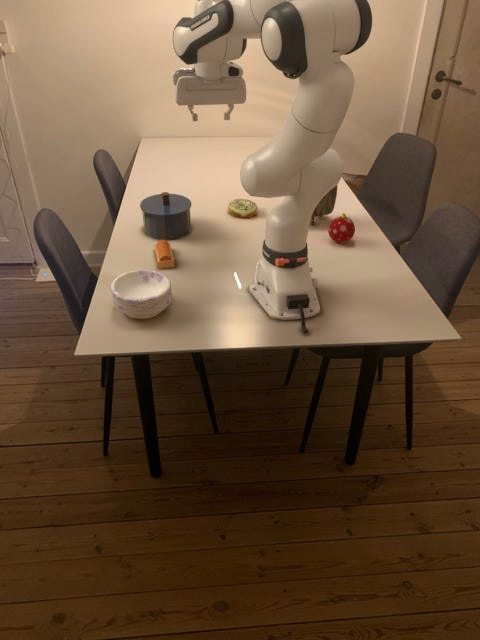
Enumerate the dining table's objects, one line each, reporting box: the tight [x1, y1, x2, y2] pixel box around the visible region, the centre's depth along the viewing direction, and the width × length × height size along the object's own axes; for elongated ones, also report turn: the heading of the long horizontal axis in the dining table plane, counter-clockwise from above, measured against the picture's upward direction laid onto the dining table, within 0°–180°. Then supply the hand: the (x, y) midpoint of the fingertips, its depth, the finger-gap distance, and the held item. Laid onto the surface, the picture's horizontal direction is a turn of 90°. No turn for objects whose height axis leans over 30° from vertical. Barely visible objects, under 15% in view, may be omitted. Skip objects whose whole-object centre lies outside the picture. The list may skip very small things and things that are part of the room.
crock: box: [141, 208, 192, 241], centre depth 163 cm, size 16×16×8 cm
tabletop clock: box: [310, 184, 338, 226], centre depth 164 cm, size 14×9×25 cm, turn 108°
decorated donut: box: [227, 198, 259, 218], centre depth 176 cm, size 10×11×4 cm
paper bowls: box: [110, 269, 173, 320], centre depth 126 cm, size 15×15×8 cm
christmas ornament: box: [327, 212, 356, 244], centre depth 158 cm, size 9×9×10 cm
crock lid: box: [139, 191, 192, 216], centre depth 159 cm, size 17×17×5 cm
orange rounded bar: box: [154, 239, 175, 270], centre depth 148 cm, size 11×5×4 cm, turn 13°
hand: (210, 120), depth 142 cm, fingers open, 8 cm apart
